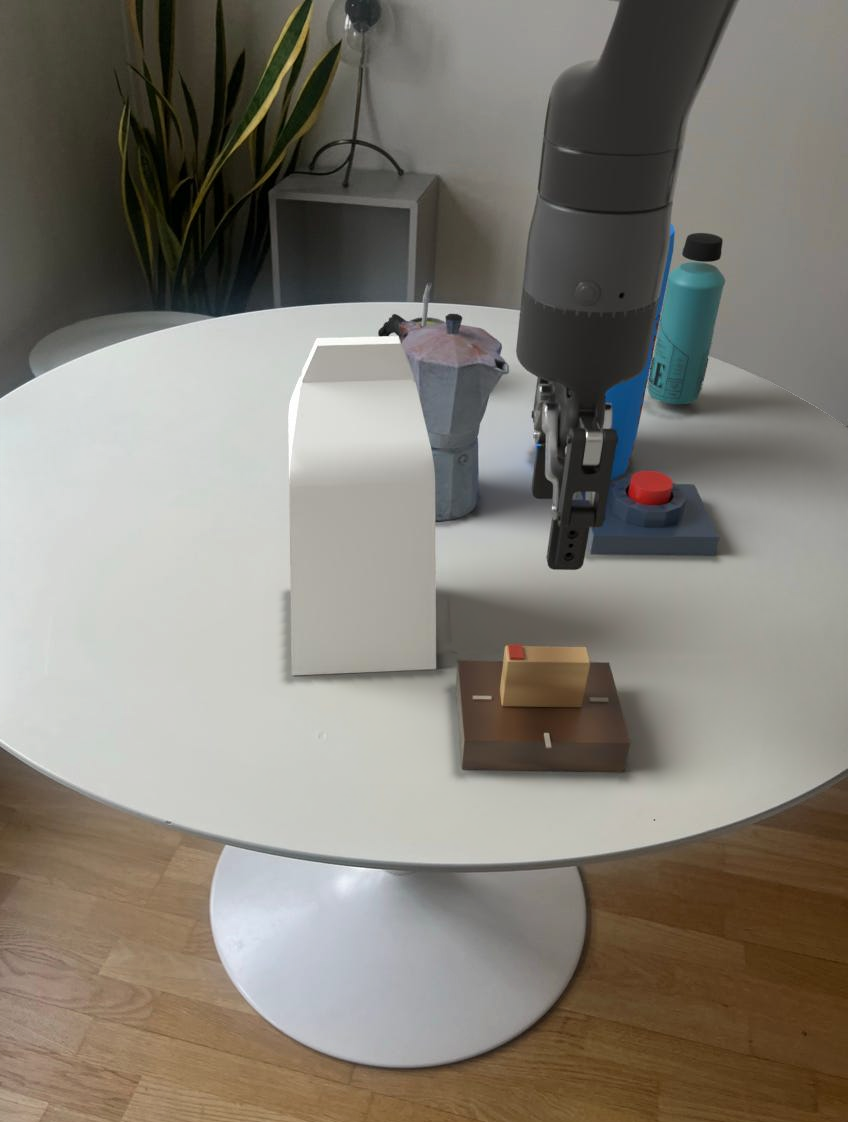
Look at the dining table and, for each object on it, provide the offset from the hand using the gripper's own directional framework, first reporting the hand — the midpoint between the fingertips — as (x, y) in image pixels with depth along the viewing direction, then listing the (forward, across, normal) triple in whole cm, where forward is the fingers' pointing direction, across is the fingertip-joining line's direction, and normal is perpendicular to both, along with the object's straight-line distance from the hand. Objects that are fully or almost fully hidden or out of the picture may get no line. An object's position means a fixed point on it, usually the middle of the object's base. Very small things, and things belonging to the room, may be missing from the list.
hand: (554, 529), depth 64 cm
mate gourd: (+18, +61, +6) cm, 64 cm away
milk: (+18, +12, +13) cm, 25 cm away
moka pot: (+18, +34, +6) cm, 39 cm away
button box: (+18, +29, -15) cm, 37 cm away
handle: (+15, 0, -1) cm, 15 cm away
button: (+14, +29, -15) cm, 35 cm away
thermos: (+18, +43, -11) cm, 48 cm away
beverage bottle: (+18, +57, -24) cm, 64 cm away
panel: (+18, 0, -1) cm, 18 cm away
